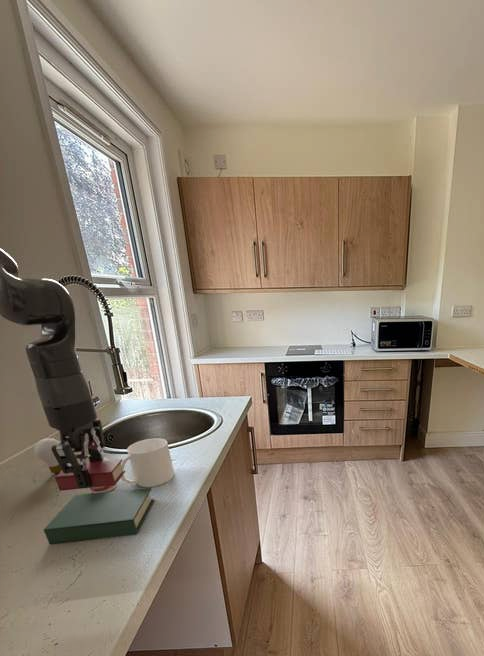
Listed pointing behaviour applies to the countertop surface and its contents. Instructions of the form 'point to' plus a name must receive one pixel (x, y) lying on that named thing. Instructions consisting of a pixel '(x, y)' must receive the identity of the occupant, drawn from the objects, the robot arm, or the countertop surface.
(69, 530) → the hardback
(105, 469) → the pocket book
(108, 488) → the pill bottle
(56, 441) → the light bulb
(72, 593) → the countertop surface
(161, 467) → the mug
